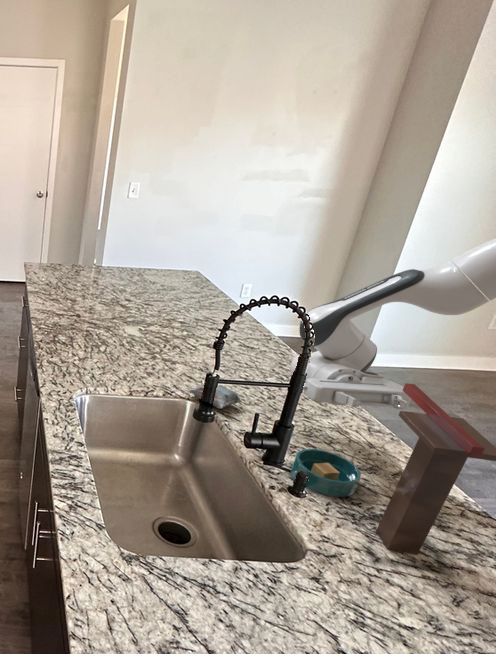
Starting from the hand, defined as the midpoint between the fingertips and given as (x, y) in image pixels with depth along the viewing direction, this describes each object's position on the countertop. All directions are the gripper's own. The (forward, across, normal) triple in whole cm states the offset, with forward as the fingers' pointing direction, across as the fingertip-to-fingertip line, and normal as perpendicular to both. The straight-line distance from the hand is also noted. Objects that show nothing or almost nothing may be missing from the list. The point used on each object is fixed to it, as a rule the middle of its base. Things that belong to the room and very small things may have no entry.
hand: (379, 404), depth 110 cm
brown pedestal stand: (+15, -2, +24) cm, 28 cm away
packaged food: (-38, -18, +14) cm, 44 cm away
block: (-4, -6, +20) cm, 21 cm away
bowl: (-4, -6, +20) cm, 21 cm away
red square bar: (+16, -1, -2) cm, 16 cm away
